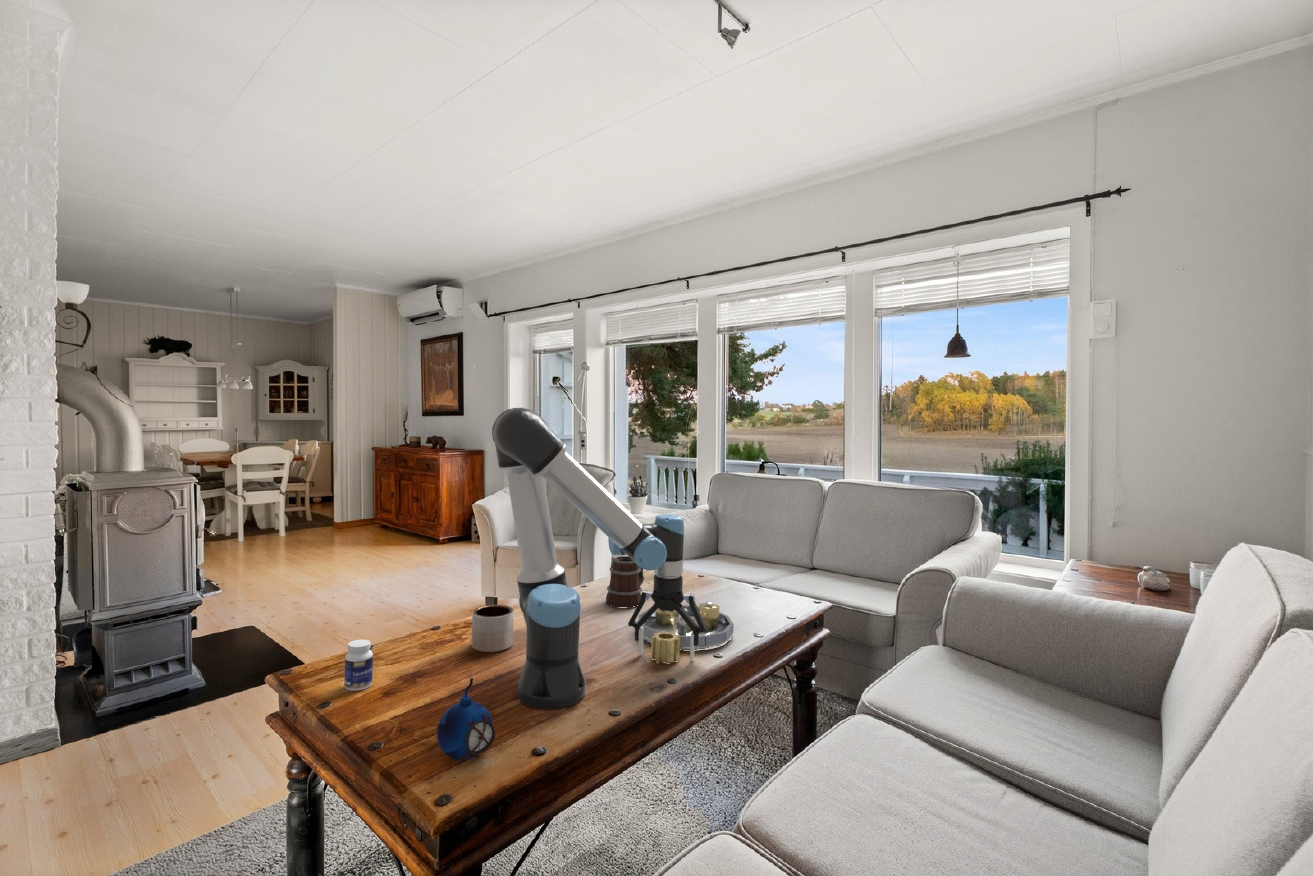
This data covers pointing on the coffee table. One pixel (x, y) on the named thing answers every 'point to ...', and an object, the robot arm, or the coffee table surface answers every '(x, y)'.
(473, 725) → the bomb
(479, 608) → the planter
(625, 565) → the mug
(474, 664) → the coffee table surface
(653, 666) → the coffee table surface
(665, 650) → the planet gear
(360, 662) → the pill bottle
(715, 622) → the carrier
